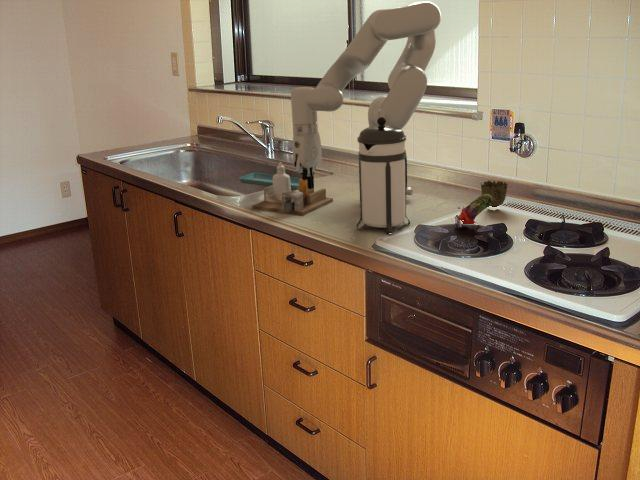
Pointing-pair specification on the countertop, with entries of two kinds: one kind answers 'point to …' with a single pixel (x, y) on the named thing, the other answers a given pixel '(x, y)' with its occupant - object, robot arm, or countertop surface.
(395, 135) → the coffee press
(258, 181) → the shallow long dish
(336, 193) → the countertop surface
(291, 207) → the shaft
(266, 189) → the rail board
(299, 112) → the robot arm
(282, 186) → the eye dropper bottle
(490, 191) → the green flared piece
